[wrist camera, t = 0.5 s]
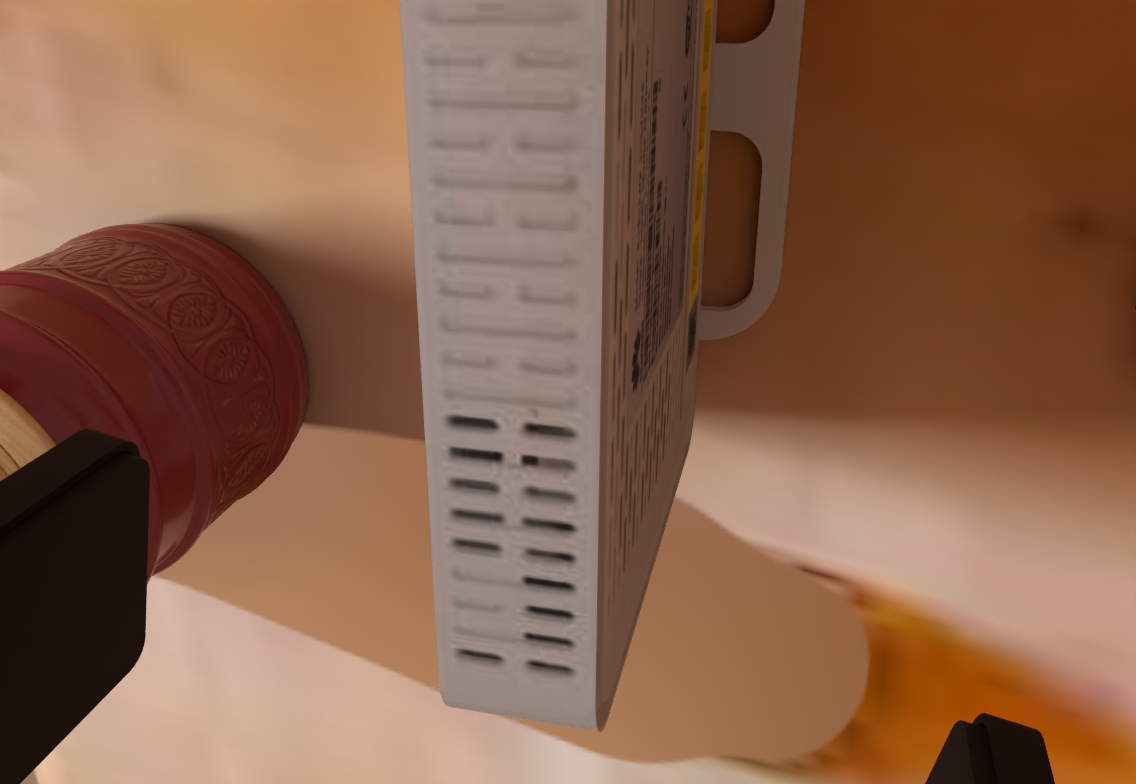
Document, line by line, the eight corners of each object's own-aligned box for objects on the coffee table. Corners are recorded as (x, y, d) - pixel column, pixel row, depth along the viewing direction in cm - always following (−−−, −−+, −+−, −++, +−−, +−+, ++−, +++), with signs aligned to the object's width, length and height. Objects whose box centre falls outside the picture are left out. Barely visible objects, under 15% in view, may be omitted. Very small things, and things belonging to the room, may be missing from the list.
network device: (553, -337, 33) (213, -675, 15) (835, -353, 31) (831, -761, 13) (555, 399, 43) (353, 721, 25) (768, 420, 41) (714, 783, 23)
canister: (32, 402, 50) (-343, 613, 34) (87, 161, 44) (-333, 281, 28) (268, 532, 49) (0, 806, 34) (356, 306, 44) (82, 510, 28)
